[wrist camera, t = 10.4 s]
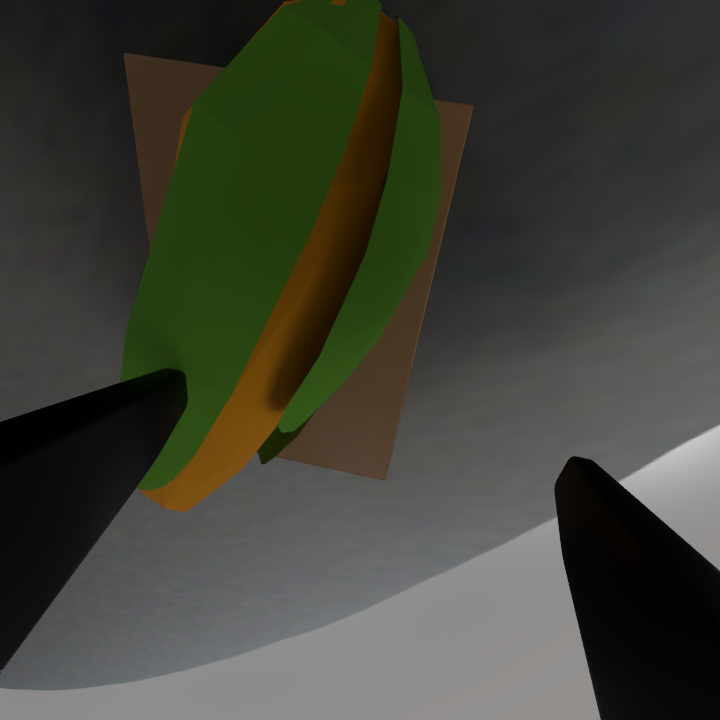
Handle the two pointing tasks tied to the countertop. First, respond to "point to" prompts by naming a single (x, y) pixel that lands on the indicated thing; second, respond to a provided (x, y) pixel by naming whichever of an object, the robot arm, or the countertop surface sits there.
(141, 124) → the takeaway box
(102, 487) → the robot arm
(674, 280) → the countertop surface
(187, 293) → the corn
